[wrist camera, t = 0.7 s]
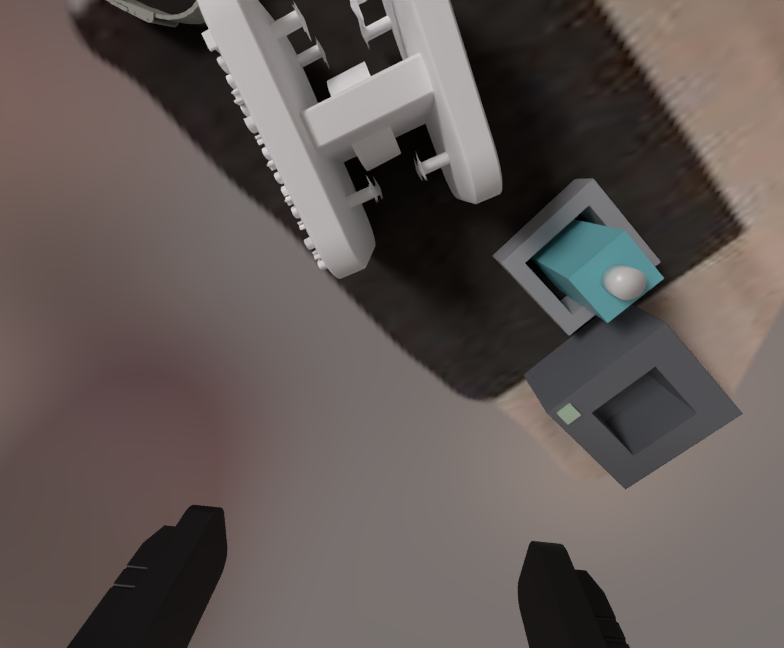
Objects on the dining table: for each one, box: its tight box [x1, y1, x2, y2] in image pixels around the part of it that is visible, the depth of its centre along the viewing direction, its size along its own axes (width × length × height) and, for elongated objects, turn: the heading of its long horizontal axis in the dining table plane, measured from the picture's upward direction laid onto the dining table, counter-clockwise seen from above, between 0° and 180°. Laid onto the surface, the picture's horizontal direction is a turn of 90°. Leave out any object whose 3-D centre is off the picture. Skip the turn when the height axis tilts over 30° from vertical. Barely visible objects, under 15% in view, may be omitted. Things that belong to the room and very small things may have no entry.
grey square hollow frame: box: [493, 179, 660, 335], centre depth 29 cm, size 8×8×3 cm
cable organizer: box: [197, 0, 502, 279], centre depth 23 cm, size 15×11×12 cm
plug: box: [531, 219, 664, 323], centre depth 26 cm, size 4×4×10 cm
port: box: [524, 304, 742, 489], centre depth 31 cm, size 10×10×6 cm
